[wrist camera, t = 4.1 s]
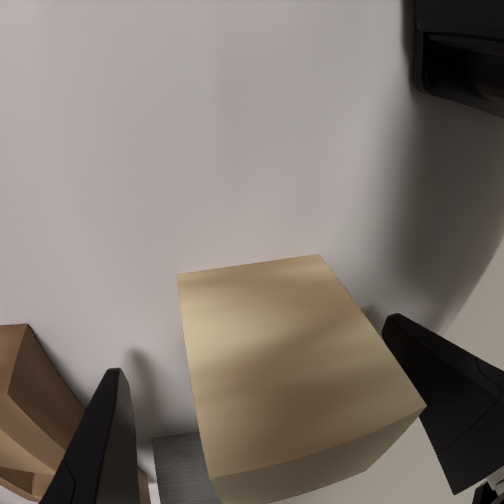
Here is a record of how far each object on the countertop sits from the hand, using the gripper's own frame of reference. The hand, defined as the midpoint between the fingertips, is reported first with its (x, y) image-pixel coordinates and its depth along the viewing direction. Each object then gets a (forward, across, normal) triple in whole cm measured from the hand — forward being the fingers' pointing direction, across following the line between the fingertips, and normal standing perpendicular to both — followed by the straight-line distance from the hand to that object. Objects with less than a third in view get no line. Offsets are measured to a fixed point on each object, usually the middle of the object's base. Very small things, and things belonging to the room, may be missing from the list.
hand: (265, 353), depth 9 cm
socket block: (+2, +14, +8) cm, 16 cm away
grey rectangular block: (+2, +3, +13) cm, 13 cm away
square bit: (+2, 0, 0) cm, 2 cm away
